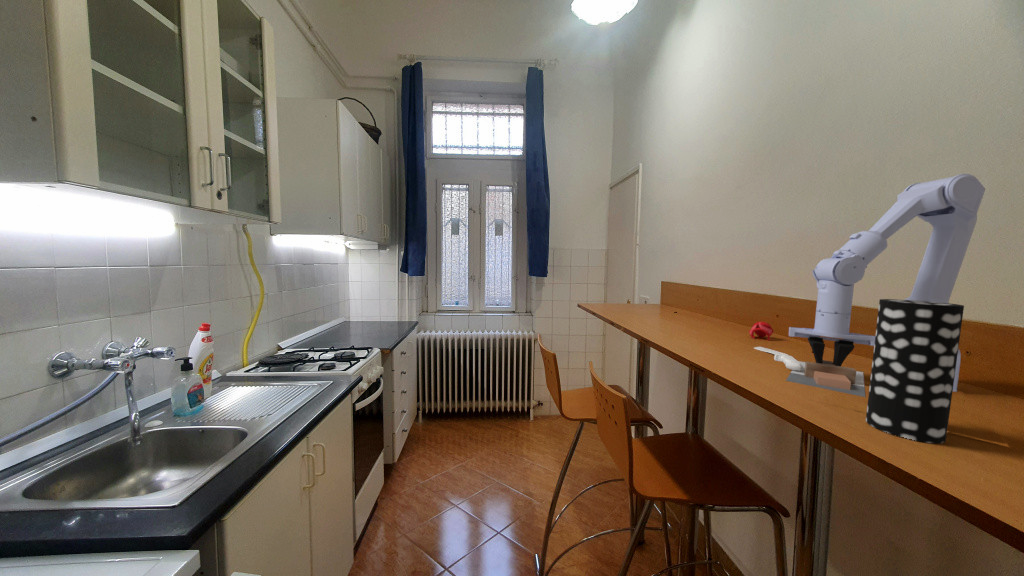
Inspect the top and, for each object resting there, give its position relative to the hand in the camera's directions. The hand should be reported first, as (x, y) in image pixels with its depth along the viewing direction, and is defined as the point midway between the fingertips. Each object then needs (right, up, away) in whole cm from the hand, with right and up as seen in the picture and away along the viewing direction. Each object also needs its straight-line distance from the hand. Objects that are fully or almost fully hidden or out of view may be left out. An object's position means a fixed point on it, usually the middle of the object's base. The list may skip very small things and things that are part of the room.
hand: (826, 372), depth 78 cm
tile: (-4, -1, -5) cm, 6 cm away
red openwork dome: (+14, +1, +41) cm, 44 cm away
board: (0, -1, 0) cm, 1 cm away
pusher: (0, -1, 0) cm, 1 cm away
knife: (0, 0, +17) cm, 17 cm away
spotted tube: (-10, -3, -24) cm, 26 cm away
